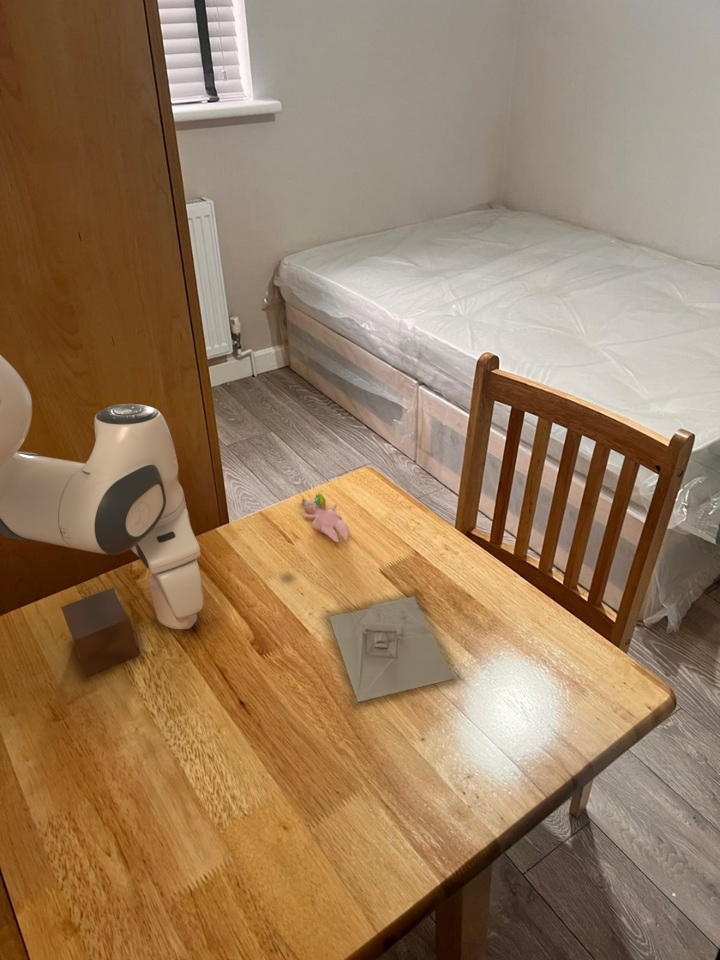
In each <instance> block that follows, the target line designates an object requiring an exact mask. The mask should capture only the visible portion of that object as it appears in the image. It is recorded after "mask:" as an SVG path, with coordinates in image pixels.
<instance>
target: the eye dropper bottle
mask: <svg viewBox="0 0 720 960" xmlns="http://www.w3.org/2000/svg"><path fill="white" fill-rule="evenodd" d="M148 588H149V593H150V596H151V600H152V604H153V608H154V612H155V617H156V619H157V621H158V622H159V624H161V625H163V626H164V627H167V628H170V629H174V630H189V629H191V628H192V627H193V626H194V625H195V624H196V622H197V620H198V615H197V613H195V614H193V615H191V616H190V618H189V619H187V620H185V621H183V622H177V620H176V618H175V617H174V615H173V613H172V611H171V609H170V607H169V605H168V603H167V602H166V600H165V598H164V596H163V594H162V593H161V591H160V589H159V587H158V585H157V583H156V582H155V580H154V578H153V576H152V575H151V576H150V578H149V580H148Z"/></svg>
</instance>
